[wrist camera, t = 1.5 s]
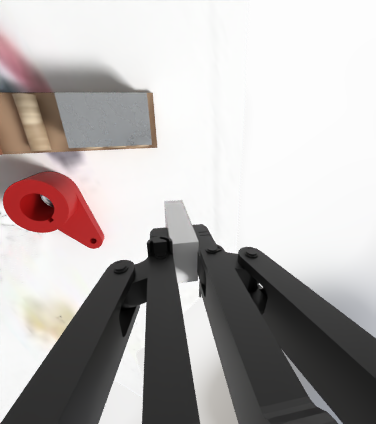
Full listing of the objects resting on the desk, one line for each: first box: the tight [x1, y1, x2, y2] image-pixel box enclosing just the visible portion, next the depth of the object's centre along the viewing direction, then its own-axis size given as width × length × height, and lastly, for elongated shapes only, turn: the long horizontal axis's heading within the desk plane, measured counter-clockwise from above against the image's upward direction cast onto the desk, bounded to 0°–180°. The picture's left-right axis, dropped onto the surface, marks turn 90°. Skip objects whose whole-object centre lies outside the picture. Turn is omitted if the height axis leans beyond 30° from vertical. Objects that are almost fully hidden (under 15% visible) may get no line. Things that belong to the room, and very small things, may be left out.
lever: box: [3, 172, 104, 249], centre depth 37 cm, size 18×9×7 cm, turn 30°
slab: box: [54, 92, 152, 148], centre depth 29 cm, size 12×7×4 cm, turn 92°
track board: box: [0, 93, 157, 155], centre depth 30 cm, size 28×9×7 cm, turn 92°
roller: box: [12, 93, 52, 151], centre depth 31 cm, size 8×3×3 cm, turn 2°
